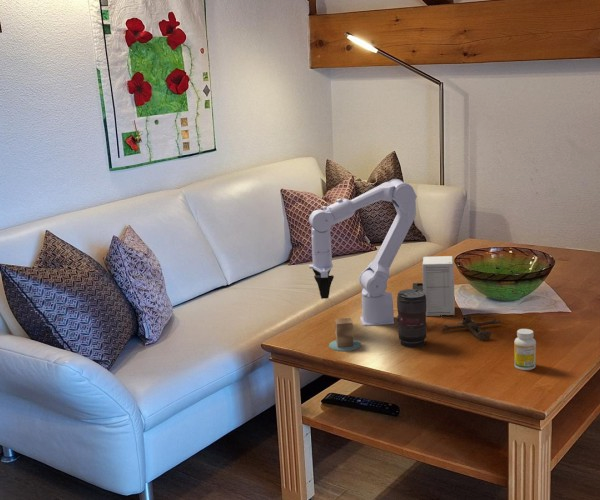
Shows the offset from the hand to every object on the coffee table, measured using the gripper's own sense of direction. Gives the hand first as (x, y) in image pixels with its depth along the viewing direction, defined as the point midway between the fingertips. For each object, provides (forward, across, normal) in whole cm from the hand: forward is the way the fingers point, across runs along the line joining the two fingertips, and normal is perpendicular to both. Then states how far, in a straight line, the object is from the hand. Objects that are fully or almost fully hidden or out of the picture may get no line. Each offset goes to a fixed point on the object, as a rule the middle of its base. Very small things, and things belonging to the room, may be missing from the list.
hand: (323, 294), depth 248 cm
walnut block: (+10, +17, +4) cm, 20 cm away
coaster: (+10, +17, +4) cm, 20 cm away
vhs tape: (+11, -27, +36) cm, 46 cm away
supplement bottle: (+10, +41, +48) cm, 64 cm away
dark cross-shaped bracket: (+11, +13, +42) cm, 46 cm away
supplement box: (+10, -7, +36) cm, 38 cm away
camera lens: (+10, +19, +23) cm, 32 cm away
